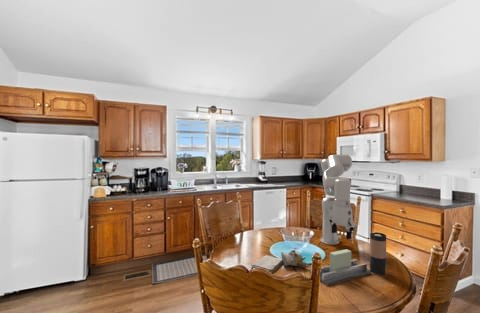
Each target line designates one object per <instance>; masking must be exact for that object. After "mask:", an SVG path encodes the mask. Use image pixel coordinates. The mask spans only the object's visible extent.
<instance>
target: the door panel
mask: <svg viewBox="0 0 480 313" xmlns="http://www.w3.org/2000/svg"><path fill="white" fill-rule="evenodd" d="M351 260H352V251H351V250H350V249H347V248H346V249H340V250H337V251H332V252H331V251H330V252H329V265H330V271H329V272H332V271H336V270H340V269H344V268H348V267H351Z"/></svg>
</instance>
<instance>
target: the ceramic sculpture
mask: <svg viewBox="0 0 480 313" xmlns="http://www.w3.org/2000/svg"><path fill="white" fill-rule="evenodd" d="M280 253H281V254H280V256H281V259H282V260H283V263H282V264H283V265H284V266H285V267H288V266H292V267H293V266H294V267H298V268H299V267H300V268H307V267H311V265H310V264H307V263H306V262H304V261H305V260H306V257H303V255H302V254H301V253H300V252H298V251H296V250H290V251H289V252H288V253H287V252H283V251H281V252H280Z"/></svg>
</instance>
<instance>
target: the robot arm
mask: <svg viewBox="0 0 480 313" xmlns="http://www.w3.org/2000/svg"><path fill="white" fill-rule="evenodd" d="M320 165H321V170H322V173H323V175H322V185H323V191H324V194H325V195H326V196H328V197H324V198H322V200H321V209H322V237H321V238H320V239H319V241H320V242H321V243H322V244H326V245H332V246H335V245H338V244H340V241H339V239H342V235H338V225H339V226H342V227H345V229H346V232H345V235H346V236H345V239H346V240H351V239H352V238H353V231H354V230H356V227H357V223H356V222H355V221H354V219H353V218H354V217H353V216H354V215H353V210H352V202H351V188H352V181H351V180H350V179H349V178H348V177H344V176H342V175H343V174H344V172H345V173H346V172H348V171H349V170H350V169H351V168H352V165H353V159H352V157H351V156H350V155H349V154H331V155H329V156H328V157H327V158H326V159H325V158H324V159H322V160H321V162H320ZM341 176H342V177H341Z"/></svg>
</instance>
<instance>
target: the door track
mask: <svg viewBox="0 0 480 313" xmlns="http://www.w3.org/2000/svg"><path fill="white" fill-rule="evenodd" d="M358 262H359V261H358V258H357V259H356V258H353V259H351V267H348V268H344V269H340V270H336V271H332V272H329V271H330V264H329V265H324V266H320V267H321V272H320V282H321V283H323V284H324V285H325V286H327V287H328V286H333V285H336V284H339V283H343V282H347V281H350V280H353V279H357V278H360V277H361V278H362V277H365V276H367V275H371V274H372V272H371V271H370V269H368V264H367V263H366V262H364V263H360V264H358ZM309 273H310V274H311V271H310V272H309Z"/></svg>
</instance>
